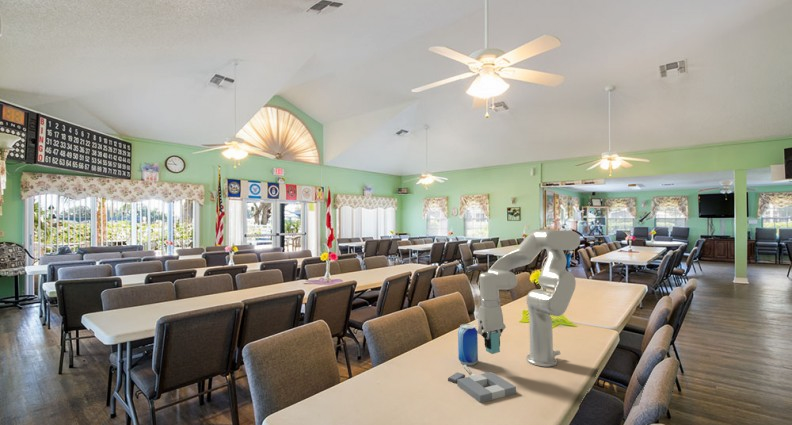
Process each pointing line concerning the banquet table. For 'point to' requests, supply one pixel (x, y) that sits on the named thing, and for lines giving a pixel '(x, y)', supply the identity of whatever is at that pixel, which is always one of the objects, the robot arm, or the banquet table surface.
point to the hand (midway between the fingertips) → (492, 346)
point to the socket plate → (481, 394)
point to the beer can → (468, 344)
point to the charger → (494, 342)
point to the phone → (456, 377)
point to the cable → (468, 370)
